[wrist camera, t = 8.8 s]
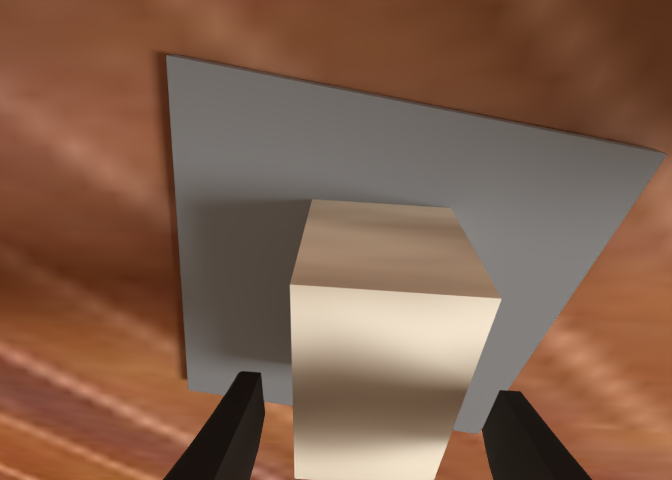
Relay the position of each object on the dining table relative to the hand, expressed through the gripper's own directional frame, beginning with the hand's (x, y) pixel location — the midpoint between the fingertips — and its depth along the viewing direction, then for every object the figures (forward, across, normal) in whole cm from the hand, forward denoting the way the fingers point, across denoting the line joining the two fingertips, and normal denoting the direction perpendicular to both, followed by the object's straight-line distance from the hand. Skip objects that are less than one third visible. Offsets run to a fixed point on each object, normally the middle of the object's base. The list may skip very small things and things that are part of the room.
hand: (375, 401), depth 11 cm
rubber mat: (+5, 0, 0) cm, 5 cm away
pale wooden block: (+5, 0, 0) cm, 5 cm away
